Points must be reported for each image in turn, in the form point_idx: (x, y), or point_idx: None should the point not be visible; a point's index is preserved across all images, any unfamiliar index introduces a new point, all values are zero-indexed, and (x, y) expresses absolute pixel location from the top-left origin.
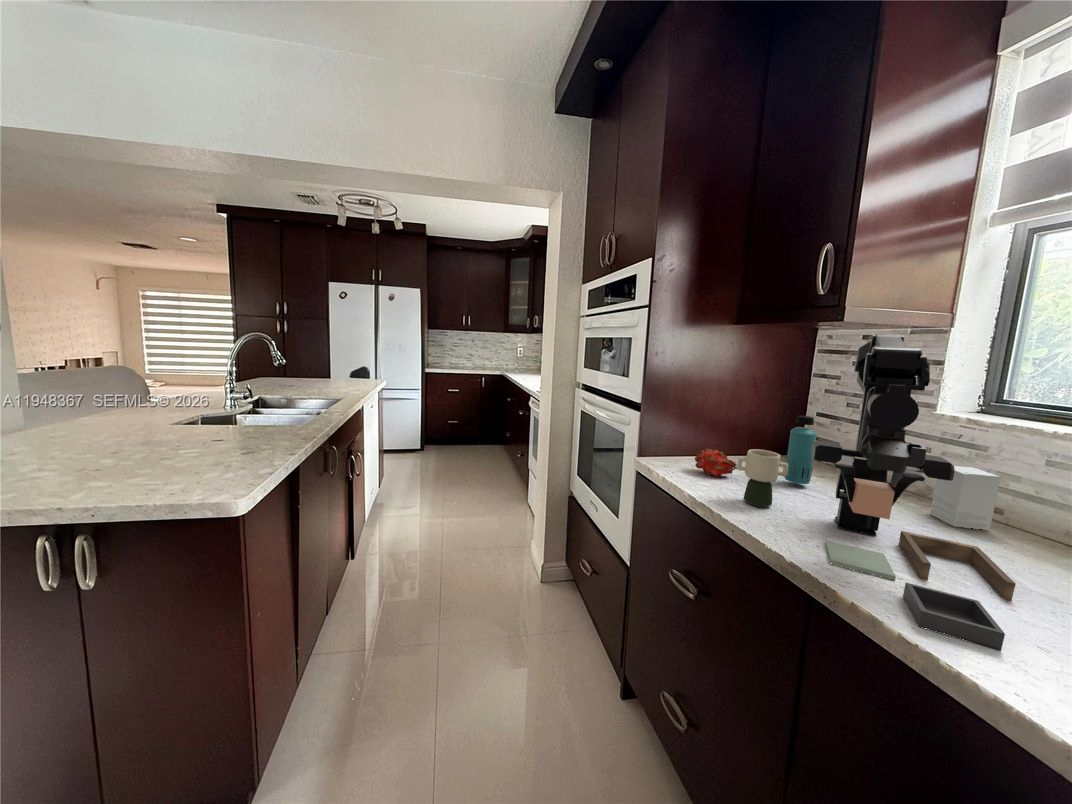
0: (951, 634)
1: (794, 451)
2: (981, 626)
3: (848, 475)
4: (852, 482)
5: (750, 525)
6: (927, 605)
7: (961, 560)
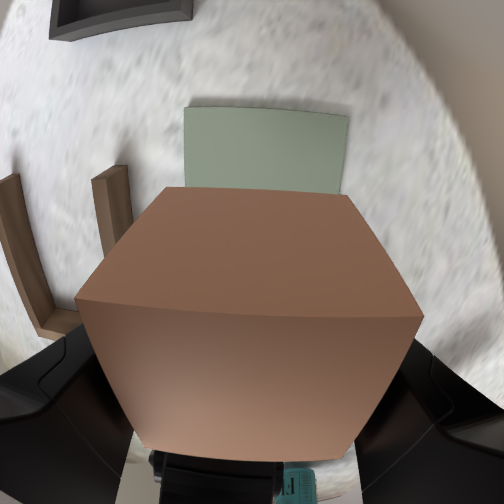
0: None
1: None
2: None
3: (476, 417)
4: (416, 378)
5: (472, 267)
6: (148, 4)
7: (64, 310)
